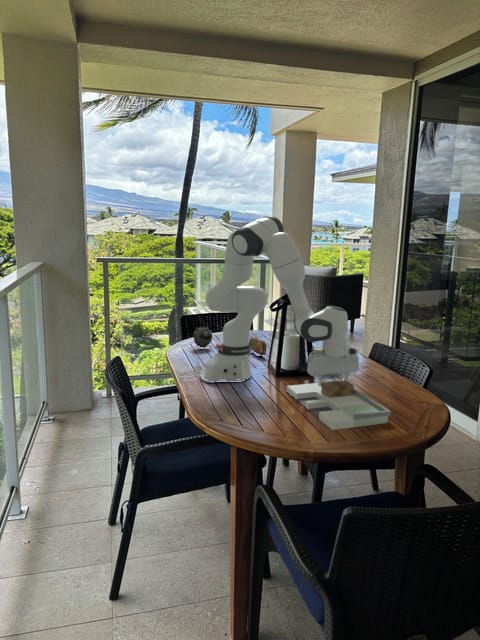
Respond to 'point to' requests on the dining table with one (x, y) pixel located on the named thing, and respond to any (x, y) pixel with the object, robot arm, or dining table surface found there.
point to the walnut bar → (337, 388)
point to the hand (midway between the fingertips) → (332, 384)
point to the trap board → (340, 407)
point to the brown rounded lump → (258, 346)
